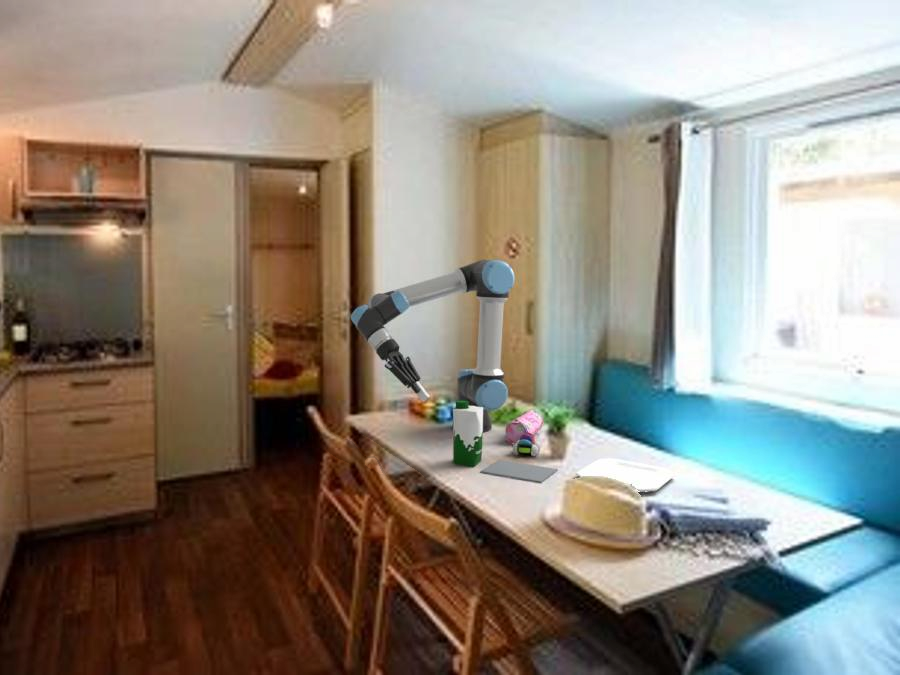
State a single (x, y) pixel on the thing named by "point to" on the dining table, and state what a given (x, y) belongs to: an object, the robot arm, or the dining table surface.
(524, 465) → the topple mat
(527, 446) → the rainbow cloud toy
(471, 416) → the fresh milk carton
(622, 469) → the plate
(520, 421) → the pencil case
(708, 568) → the dining table surface
